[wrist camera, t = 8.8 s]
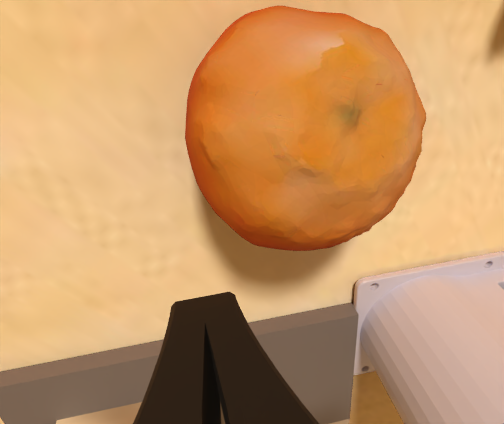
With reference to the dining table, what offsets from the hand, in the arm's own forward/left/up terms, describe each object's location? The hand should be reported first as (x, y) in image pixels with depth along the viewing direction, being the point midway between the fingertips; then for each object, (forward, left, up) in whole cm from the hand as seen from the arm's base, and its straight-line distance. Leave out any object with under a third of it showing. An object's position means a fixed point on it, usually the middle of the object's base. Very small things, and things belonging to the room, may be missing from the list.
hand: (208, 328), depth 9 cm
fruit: (-4, -2, -10) cm, 11 cm away
